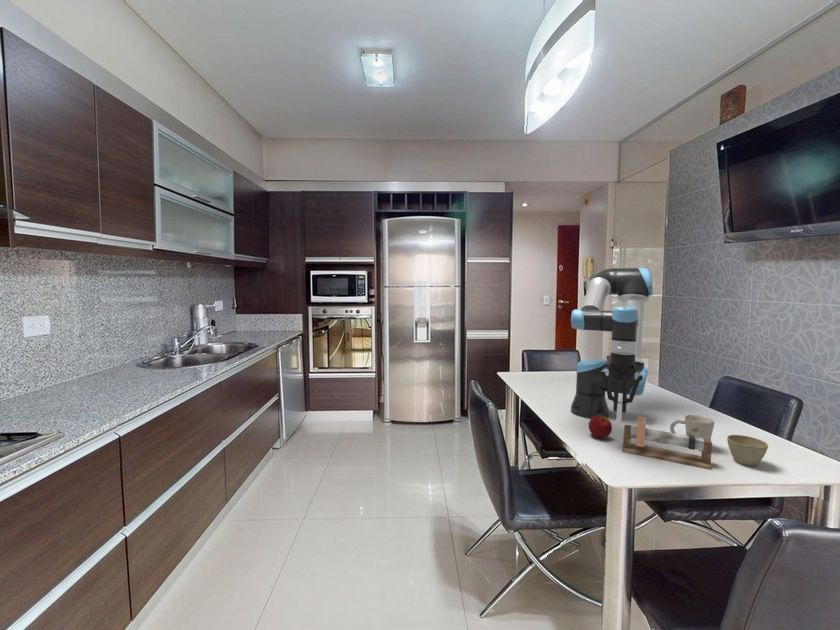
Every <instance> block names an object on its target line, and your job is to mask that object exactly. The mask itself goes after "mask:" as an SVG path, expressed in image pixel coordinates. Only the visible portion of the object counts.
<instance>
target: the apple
mask: <svg viewBox="0 0 840 630" xmlns="http://www.w3.org/2000/svg"><path fill="white" fill-rule="evenodd" d="M588 430H589V432H590V434H591V435H593V436H594V437H595V438H598V439H604V438H607V437H608V436H610V434H611V433H612V430H613V426H612V422H611V421H610V419H608V417H605V416H602V415H597V416H594V417H593V418H590V420H589V422H588Z"/></svg>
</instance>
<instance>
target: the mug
mask: <svg viewBox="0 0 840 630" xmlns="http://www.w3.org/2000/svg"><path fill="white" fill-rule="evenodd" d="M677 424H681V425H685V435H687V436H688V435H692V436H695V437H699V438H708V439H711V440H712V436H713V430H714V427H715V420H714V419H713V418H711V417H708V416H704V415H698V414H686V415H685V416H684V419H683V420H682V419H675V420H673V421H672V422H671V423H670V425H669V430H670V433H675V434H677V432H676V431H675V426H676V425H677Z"/></svg>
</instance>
